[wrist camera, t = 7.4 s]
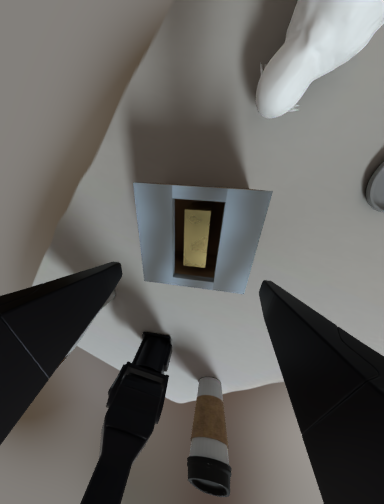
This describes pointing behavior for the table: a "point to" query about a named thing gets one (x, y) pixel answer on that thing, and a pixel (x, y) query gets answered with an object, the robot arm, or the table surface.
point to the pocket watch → (376, 189)
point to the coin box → (219, 239)
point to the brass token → (196, 234)
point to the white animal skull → (315, 48)
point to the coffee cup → (209, 442)
